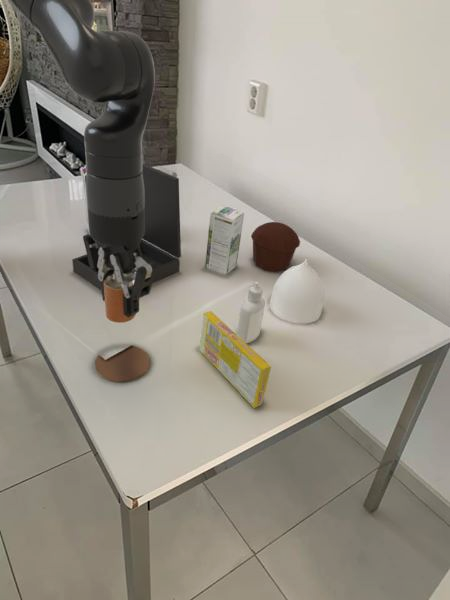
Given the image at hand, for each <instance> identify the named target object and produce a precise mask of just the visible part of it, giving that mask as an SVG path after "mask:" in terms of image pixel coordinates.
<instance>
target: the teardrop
mask: <svg viewBox="0 0 450 600" xmlns="http://www.w3.org/2000/svg"><path fill="white" fill-rule="evenodd" d="M325 295H326V292H325V287H324V284H323V281H322V280H321V277H320V275H319V274H318V273H317V271H316V270H315V269H314V268H312V267H311V266H310V264H309V263H308V259H307V258H305V260H304V261H302V263H300V264H297V265H293V266H291V267H288V268H287V269H286V270H284V271H283V273H281V274H280V276H279V277H278V279H277V280H276V282H275V283H274V287H273V290H272V293H271V297H270V299H269V300H270V301H269V306H270V311H271V312H272V313H273V314H274V315H275V316H276V317H278V318H279V319H281V320H283V321H287V322H290V323H293V324H304V325H305V324H310V323H314V322H316V321H318V320H319V319H320V317H321V314H322V311H323V306H324V301H325Z"/></svg>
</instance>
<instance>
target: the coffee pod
mask: <svg viewBox="0 0 450 600" xmlns="http://www.w3.org/2000/svg"><path fill="white" fill-rule="evenodd" d="M126 275H127V274H124V276H126ZM129 287H130V288H132V287H133V282H132V281H131V282H129ZM104 295H105V301H104V306H105V310H104V311H105V317H106V319H108V321H110V322H112V323H117V324H119V323H121V324H122V323H127V322H130V321H131V320H133V319H134V318H135V317H136V315H137V313H136V314H135V315H133V316H131V317H127V316H125V315H124V302H123V296H124V293H123V289H122V285H121V283H118V281H117V277H116V274H113V275H110V276H108V277H107V278H106V279H105V280H104Z"/></svg>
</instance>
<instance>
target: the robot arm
mask: <svg viewBox="0 0 450 600" xmlns="http://www.w3.org/2000/svg"><path fill="white" fill-rule="evenodd" d="M9 2H10V3H11V4H12V5H13V7H14V8H15V9H16V10H17V11H18V12H19V13H20V14H21V16H23V18H24V19H25V20H26V22H28V23H29V25H30V26H31V27H32V28H33V29H34V30H35V31H36V32H37V33H38V34H39V35H40V36H41V38H42V40H43V42H44V45H45V46H46V48H47V50H48V53H49V54H50V56H51V58H52V60H53V62H54V64H55V66H56V68H57V70H58V71H59V73H60V75H61V78H62V80H63V81H64V83H65V84H66V85H67V87H68V88H69V89H70V90H71V91H72V92H73V93H75V94H76V95H77V96H78V97H79V98H81V99H82V100H85V101H87V102H89V103H94V104H103V103H105V104H104V108H103V111H102V113H101V115H99V116H98V117H96V118H95V119H93V120H92V121H91V122H89V123H88V124H87V125H86V127H84V133H83V142H84V144H83V145H84V155H85V168H86V172H87V175H86V197H87V209H88V222H89V232H88V234H84V235H82V240H83V244H84V248H85V251H86V254H87V256H88V260H89V264H90V269H91V271H92V272H93V273H97V274H98V279H99V280H100V281H101V289H102V290H101V295H102V296H101V297H102V301H103V302H105V295H104V280H105V279H106V278H107V277H108V276H110V275H113V274H116V277H117V281H118V283H121V285H122V289H123V293H124V296H123V302H124V315H125V316H127V317H131V316H133V315H135V314H136V315H137V314H138V313H139V311H140V299H141V298H143V297H146V296H148V295H149V294H151V291H152V286H153V284H154V283H153V279H154V275H155V271H156V265H155V264H154V263H153V262H151V263H149V264H148V263H147V262H146V261H144V260H143V259H142V253H141V250H140V246H139V244H140V241H141V240H143V239H142V238H143V236H144V233H145V191H144V181H143V172H142V163H143V136H144V134H145V133H144V132H145V129H146V126H147V123H148V118H149V112H150V109H151V105H152V101H153V96H154V91H155V84H156V71H155V62H154V57H153V55H152V52H151V50H150V47H149V46H148V44H147V43H146V41H145V40H144V39H143V38H142V37H141V36H140V35H139V34H137V33H134V32H132V31H126V30H95V29H93V27H94V24H95V17H96V16H95V9H94V5H93V3H92V1H91V0H9ZM89 233H90V234H89ZM97 256H99V258H98V263H97V264H96V261H95V257H97ZM130 271H132V272H131V273H130V274H128V275H126V276H124V274H125V273H128V272H130ZM131 281H132V282H133V287H132V288H130V287H129V282H131ZM152 283H153V284H152ZM136 315H135V316H136Z"/></svg>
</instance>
